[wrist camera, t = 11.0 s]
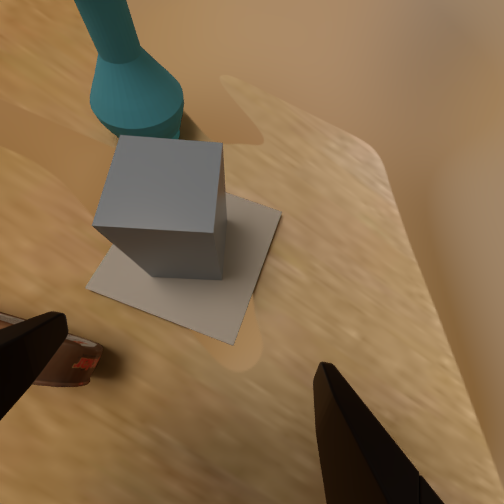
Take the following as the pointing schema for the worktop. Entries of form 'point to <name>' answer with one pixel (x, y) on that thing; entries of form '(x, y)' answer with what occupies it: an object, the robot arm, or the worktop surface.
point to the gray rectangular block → (167, 206)
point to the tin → (65, 359)
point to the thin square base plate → (198, 290)
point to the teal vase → (129, 76)
